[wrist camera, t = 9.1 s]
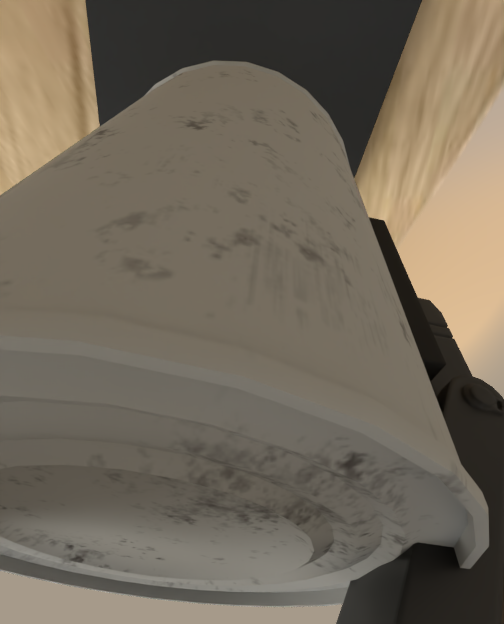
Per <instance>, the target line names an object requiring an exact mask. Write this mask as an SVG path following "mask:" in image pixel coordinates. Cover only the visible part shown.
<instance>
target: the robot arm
mask: <svg viewBox="0 0 504 624" xmlns="http://www.w3.org/2000/svg"><path fill="white" fill-rule="evenodd" d="M369 220H370V222H371V225H372V228H373V230H374V233H375V236H376V238H377V241H378V244H379V246H380V249H381V252H382V254H383V257H384V260H385V262H386V265H387V268H388V270H389V273H390V276H391V278H392V281H393V284H394V286H395V289H396V292H397V294H398V297H399V300H400V302H401V305H402V308H403V310H404V313H405V316H406V318H407V321H408V324H409V326H410V329H411V332H412V334H413V337H414V340H415V342H416V345H417V348H418V350H419V353H420V356H421V358H422V361H423V364H424V366H425V369H426V372H427V374H428V377H429V380H430V382H431V385H432V388H433V390H434V393H435V396H436V398H437V401H438V404H439V406H440V409H441V412H442V414H443V417H444V420H445V422H446V425H447V428H448V430H449V433H450V436H451V438H452V441H453V444H454V446H455V449H456V452H457V454H458V457H459V460H460V462H461V465H462V466H463V467H464V469H465V470H466V471H467V473H468V474H469V475H470V477H471V478H472V479H473V481H474V482H475V483H476V485H477V486H478V487H479V489H480V490H481V491H482V493H483V496H484V498H485V501H486V503H487V506H488V516H489V547H488V548H487V549H486V551H485V552H484V553H483V554H482V555H481V557H480V558H479V559H478V560H477V561H476V563H475V564H474V565H473V566H472V567H471V569H466V568H460V566H459V563H458V559H457V556H456V553H455V549H454V547H447V546H440V545H433V544H426V543H419V542H417V543H415V544H413V545H412V546H411V547H410V548H409V549H408V550H407V551H405V552H404V553H403V554H401V555H400V556H398V557H397V558H395V559H394V560H393V561H391V562H388V563H386V564H383V565H381V566H379V567H377V568H375V569H374V570H372V571H370V572H369V573H367V574H365V575H363V576H362V577H360V578H358V579H356V580H352V581H350V584H349V587H348V590H347V593H346V596H345V599H344V602H343V605H342V608H341V611H340V614H339V617H338V620H337V623H336V624H504V399H503V397H502V396H501V395H500V394H499V393H498V392H497V391H496V390H495V389H494V388H493V387H492V386H490V385H488V384H487V383H485V382H484V381H483V380H481V379H478V378H475V377H473V376H472V374H471V372H470V370H469V368H468V366H467V364H466V362H465V360H464V358H463V356H462V354H461V352H460V350H459V348H458V346H457V344H456V342H455V340H454V339H452V337H453V336H452V334H451V332H450V329H449V328H447V326H448V325H447V323H446V322H445V319H444V317H443V315H442V313H441V312H440V311H439V310H438V309H437V308H436V307H435V306H434V304H433V303H432V302H431V301H430V300H426V299H421V298H417V295H416V293H415V291H414V288H413V286H412V284H411V281H410V279H409V277H408V275H407V272H406V270H405V268H404V265H403V263H402V261H401V259H400V256H399V254H398V252H397V249H396V247H395V245H394V242H393V240H392V238H391V236H390V233H389V231H388V229H387V226H386V224H385V222H384V220H379V219H374V218H369Z"/></svg>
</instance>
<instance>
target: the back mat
mask: <svg viewBox="0 0 504 624" xmlns="http://www.w3.org/2000/svg"><path fill="white" fill-rule="evenodd" d="M421 2H422V0H86V8H87V17H88V26H89V35H90V43H91V52H92V61H93V70H94V78H95V87H96V96H97V105H98V114H99V122H100V126H102V125H103V124H104V123H106V122H107V121H109V120H110V119H112V118H113V117H115V116H116V115H117V114H119V113H120V112H122V111H123V110H125V109H126V108H128V107H129V106H130V105H132V104H133V103H135V102H136V101H138V100H139V99H141V98H142V97H143V96H144V95H145V94H146V93H147V92H148V91H149V90H150V89H151V88H152V87H153V86H154V85H155V84H156V83H158V82H160V81H162V80H163V79H165V78H167V77H168V76H170V75H172V74H174V73H175V72H177V71H179V70H180V69H182V68H186V67H190V66H194V65H198V64H202V63H206V62H210V61H238V62H249V63H252V64H255V65H258V66H261V67H264V68H268V69H271V70H274V71H277V72H279V73H281V74H282V75H284V76H285V77H287V78H289V79H290V80H292V81H293V82H295V83H296V84H298V85H299V86H301V87H303V88H304V89H306V90H307V91H308V92H309V93H310V94H311V95H312V97H313V98H314V99H315V100H316V101H317V102H318V103H319V104H320V105H321V106H322V107H323V108H324V110H325V111H326V112H327V113H328V114H329V116H330V118H331V120H332V121H333V123H334V125H335V127H336V129H337V131H338V132H339V134H340V136H341V138H342V140H343V142H344V146H345V150H346V154H347V158H348V162H349V165H350V169H351V172H352V174H353V177H355V175H356V172H357V170H358V167H359V164H360V162H361V159H362V156H363V154H364V151H365V149H366V146H367V143H368V141H369V138H370V135H371V133H372V130H373V128H374V125H375V122H376V120H377V117H378V114H379V112H380V109H381V107H382V104H383V101H384V99H385V96H386V93H387V91H388V88H389V86H390V83H391V80H392V78H393V75H394V72H395V70H396V67H397V65H398V62H399V59H400V57H401V54H402V51H403V49H404V46H405V44H406V41H407V38H408V36H409V33H410V30H411V28H412V25H413V23H414V20H415V17H416V15H417V12H418V9H419V7H420V4H421Z"/></svg>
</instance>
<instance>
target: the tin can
mask: <svg viewBox="0 0 504 624" xmlns="http://www.w3.org/2000/svg"><path fill="white" fill-rule="evenodd" d="M417 542H419V543H426V544H433V545H440V546H447V547H454V549H455V553H456V556H457V559H458V563H459V566H460V568H466V569H471V567H472V566H473V565H474V564H475V563H476V561H477V560H478V559H479V558H480V557H481V555H482V554H483V553H484V552H485V551H486V549H487V548H488V547H489V516H488V506H487V503H486V501H485V498H484V496H483V493H482V491H481V490H480V489H479V487H478V486H477V485H476V483H475V482H474V481H473V479H472V478H471V477H470V475H469V474H468V473H467V471H466V470H465V469H464V467H463V466H462V465H461V462H460V460H459V457H458V454H457V452H456V449H455V446H454V444H453V441H452V438H451V436H450V433H449V430H448V428H447V425H446V422H445V420H444V417H443V414H442V412H441V409H440V406H439V404H438V401H437V398H436V396H435V393H434V390H433V388H432V385H431V382H430V380H429V377H428V374H427V372H426V369H425V366H424V364H423V361H422V358H421V356H420V353H419V350H418V348H417V345H416V342H415V340H414V337H413V334H412V332H411V329H410V326H409V324H408V321H407V318H406V316H405V313H404V310H403V308H402V305H401V302H400V300H399V297H398V294H397V292H396V289H395V286H394V284H393V281H392V278H391V276H390V273H389V270H388V268H387V265H386V262H385V260H384V257H383V254H382V252H381V249H380V246H379V244H378V241H377V238H376V236H375V233H374V230H373V228H372V225H371V222H370V220H369V217H368V214H367V212H366V209H365V206H364V204H363V201H362V198H361V196H360V193H359V190H358V188H357V185H356V182H355V180H354V177H353V174H352V172H351V169H350V165H349V162H348V158H347V154H346V150H345V146H344V142H343V140H342V138H341V136H340V134H339V132H338V131H337V129H336V127H335V125H334V123H333V121H332V120H331V118H330V116H329V114H328V113H327V112H326V111H325V110H324V108H323V107H322V106H321V105H320V104H319V103H318V102H317V101H316V100H315V99H314V98H313V97H312V95H311V94H310V93H309V92H308V91H307V90H306V89H304V88H303V87H301V86H299V85H298V84H296V83H295V82H293V81H292V80H290V79H289V78H287V77H285V76H284V75H282V74H281V73H279V72H277V71H274V70H271V69H268V68H264V67H261V66H258V65H255V64H252V63H249V62H238V61H210V62H206V63H202V64H198V65H194V66H190V67H186V68H182V69H180V70H179V71H177V72H175V73H174V74H172V75H170V76H168V77H167V78H165V79H163V80H162V81H160V82H158V83H156V84H155V85H154V86H153V87H152V88H151V89H150V90H149V91H148V92H147V93H146V94H145V95H144V96H143V97H142V98H141V99H139V100H138V101H136V102H135V103H133V104H132V105H130V106H129V107H128V108H126V109H125V110H123V111H122V112H120V113H119V114H117V115H116V116H115V117H113V118H112V119H110V120H109V121H107V122H106V123H104V124H103V125H102V126H100V127H99V128H97V129H96V130H94V131H93V132H91V133H90V134H88V135H87V136H86V137H84V138H83V139H81V140H80V141H78V142H77V143H75V144H74V145H73V146H71V147H70V148H68V149H67V150H65V151H64V152H62V153H61V154H60V155H58V156H57V157H55V158H54V159H52V160H51V161H49V162H48V163H46V164H45V165H44V166H42V167H41V168H39V169H38V170H36V171H35V172H33V173H32V174H31V175H29V176H28V177H26V178H25V179H23V180H22V181H20V182H19V183H18V184H16V185H15V186H13V187H12V188H10V189H9V190H7V191H6V192H4V193H3V194H2V195H0V571H4V572H8V573H12V574H16V575H20V576H25V577H29V578H34V579H39V580H43V581H48V582H53V583H58V584H62V585H67V586H73V587H79V588H84V589H90V590H97V591H102V592H109V593H114V594H121V595H128V596H136V597H143V598H150V599H158V600H168V601H178V602H189V603H198V604H214V605H230V606H256V607H301V606H303V607H304V606H328V605H339V604H343V602H344V599H345V596H346V593H347V590H348V587H349V584H350V581H352V580H356V579H358V578H360V577H362V576H363V575H365V574H367V573H369V572H370V571H372V570H374V569H375V568H377V567H379V566H381V565H383V564H386V563H388V562H391V561H393V560H394V559H395V558H397V557H398V556H400V555H401V554H403V553H404V552H405V551H407V550H408V549H409V548H410V547H411V546H412V545H413V544H415V543H417Z"/></svg>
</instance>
